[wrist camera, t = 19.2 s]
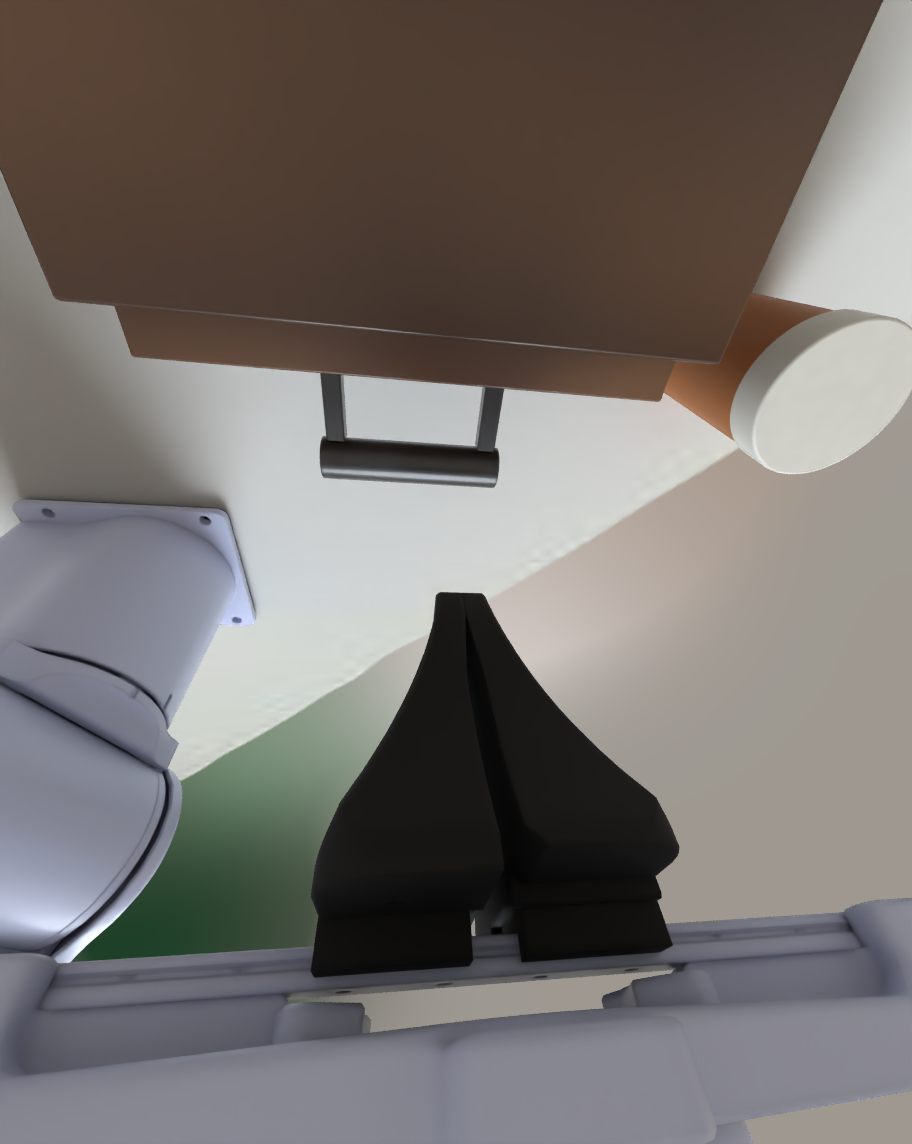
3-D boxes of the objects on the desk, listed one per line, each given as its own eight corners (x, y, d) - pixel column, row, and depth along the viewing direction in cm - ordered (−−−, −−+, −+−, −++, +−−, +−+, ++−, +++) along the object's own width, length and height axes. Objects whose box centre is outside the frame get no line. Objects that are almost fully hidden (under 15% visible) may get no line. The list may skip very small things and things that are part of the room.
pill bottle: (632, 395, 19) (725, 470, 13) (673, 278, 16) (813, 308, 11) (722, 403, 20) (849, 479, 14) (777, 290, 17) (964, 325, 11)
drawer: (559, 445, 19) (611, 528, 14) (252, 424, 18) (183, 507, 13) (768, -353, 9) (1294, -1218, 3) (48, -579, 7) (-945, -2734, 2)
